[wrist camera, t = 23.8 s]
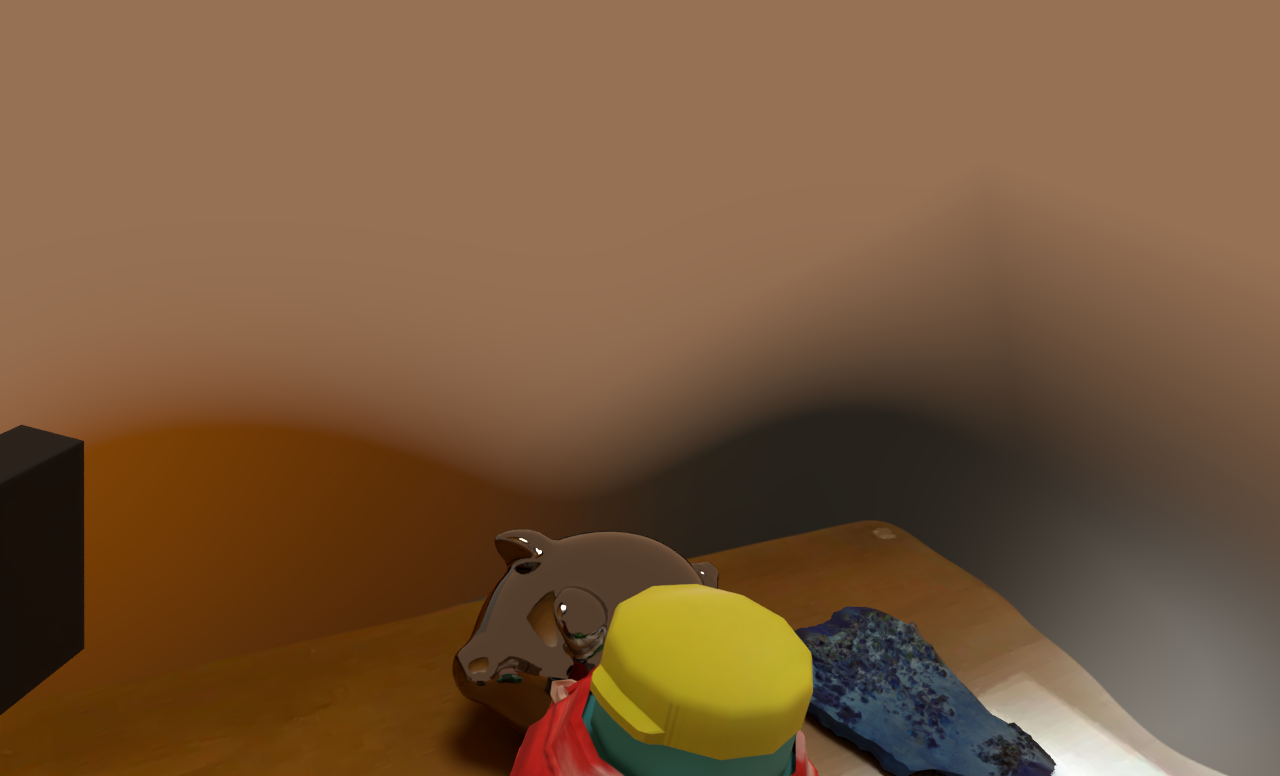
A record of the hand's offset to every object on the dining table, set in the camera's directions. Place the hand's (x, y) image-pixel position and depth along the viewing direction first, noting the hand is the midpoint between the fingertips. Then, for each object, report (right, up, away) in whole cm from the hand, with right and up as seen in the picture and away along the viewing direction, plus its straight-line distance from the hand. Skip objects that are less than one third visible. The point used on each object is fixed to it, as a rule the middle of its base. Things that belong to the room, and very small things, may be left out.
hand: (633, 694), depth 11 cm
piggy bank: (-4, -16, +44) cm, 47 cm away
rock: (+16, -17, +52) cm, 57 cm away
